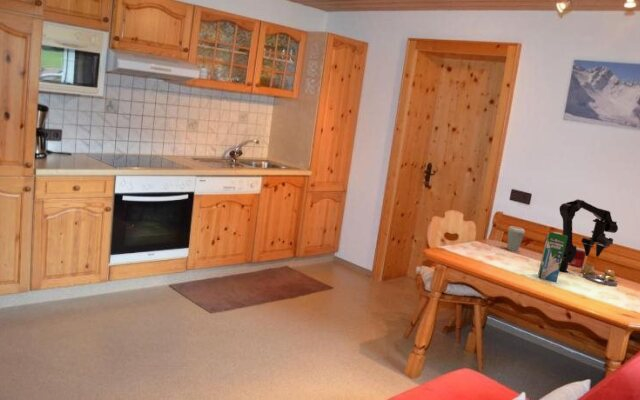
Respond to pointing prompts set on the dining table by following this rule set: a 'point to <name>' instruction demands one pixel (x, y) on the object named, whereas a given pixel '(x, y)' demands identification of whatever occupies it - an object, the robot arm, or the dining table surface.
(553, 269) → the milk carton
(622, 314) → the dining table surface
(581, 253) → the canned food
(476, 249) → the dining table surface
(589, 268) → the tan rounded lump
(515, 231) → the disposable coffee cup
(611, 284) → the carrier
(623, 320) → the dining table surface
